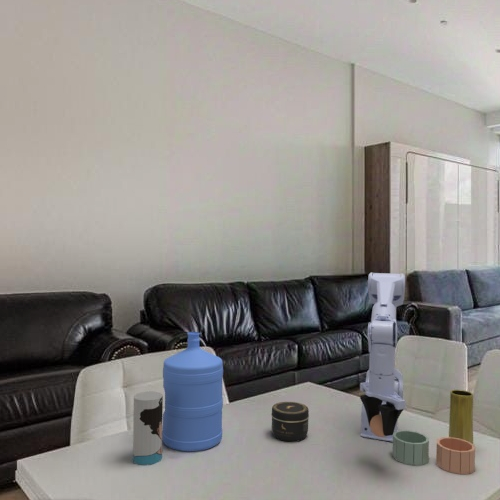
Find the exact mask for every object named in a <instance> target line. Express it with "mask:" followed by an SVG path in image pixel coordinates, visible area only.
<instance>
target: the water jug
mask: <svg viewBox="0 0 500 500" xmlns="http://www.w3.org/2000/svg"><path fill="white" fill-rule="evenodd" d="M200 335H201V334H200V332H197V331H190V332H187V347H186V348H185V349H183V350H181V351H178V352H177V353H175V354H173V355H171V356H168V357H167V358H165V359H164V360H163V367H162V381H163V382H162V383H163V385H162V387H163V390H164V412H162V443H164V445H166V447H168V448H170V449H173V450H176V451H180V452H199V451H204V450H207V449H212V448H213V447H215V446H217V445H218V444H219V443H220V442H221V441H222V438H223V408H224V407H223V405H224V404H223V403H224V401H223V400H224V397H223V375H224V365H223V361H224V360H223V359H222V358H221V357H220V356H217V355H215V354H213V353H211V352H210V351H209V352H208V351H206V350H204V349H203V348H201V346H200V341H201V340H200Z"/></svg>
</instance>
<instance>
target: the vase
mask: <svg viewBox="0 0 500 500" xmlns="http://www.w3.org/2000/svg"><path fill="white" fill-rule="evenodd" d="M449 394H450V395H449V398H450V399H449V400H450V401H449V403H450V404H449V419H448V420H449V423H448V424H449V426H448V437H453V438H459V439H463V440H465V441H468V442H470V443H472V444H473V445H474V415H473V414H474V394H473V393H472V392H470V391H468V390H463V389H452V390H451V391H450V393H449Z"/></svg>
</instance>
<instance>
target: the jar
mask: <svg viewBox="0 0 500 500" xmlns="http://www.w3.org/2000/svg"><path fill="white" fill-rule="evenodd" d="M309 417H310V415H309V407H308V406H307V405H305V404H304V403H300V402H296V401H281V402H277V403H274V404H273V406H272V407H271V430H272V435H273V436H274V438H276V439H277V440H280V441H282V442H288V443H290V442H291V443H292V442H293V443H294V442H296V443H297V442H300V441H302V440H304V439H306V437H307V435H308V432H309Z"/></svg>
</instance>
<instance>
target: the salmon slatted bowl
mask: <svg viewBox="0 0 500 500" xmlns="http://www.w3.org/2000/svg"><path fill="white" fill-rule="evenodd" d="M435 452H436V456H435V457H436V459H435V460H436V461H435V463H436V465H437V466H438V468H440V469H441V470H443V471H446V472H448V473H449V472H450V473H452V474H457V475H466V474H467V475H470V474H471V473H473V472H475V471H476V470H475V469H476V468H475V467H476V463H475V462H476V461H475V460H476V454H475V453H476V446H475V444H474V443H473V444H472V443H470V442H468V441H465V440H463V439H459V438H453V437H449V436H445V437H440V438H437V439H436V451H435Z"/></svg>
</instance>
